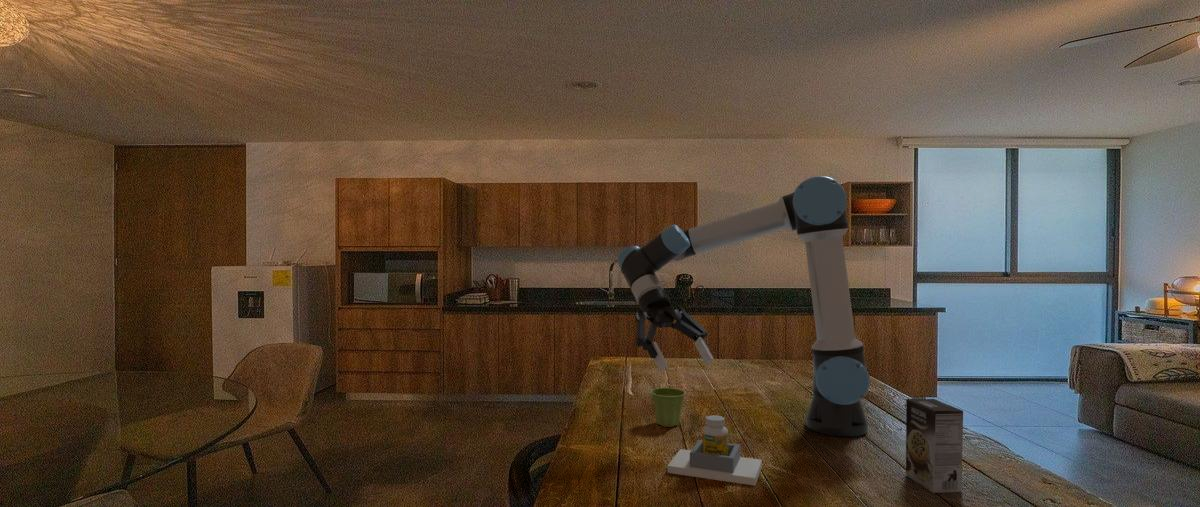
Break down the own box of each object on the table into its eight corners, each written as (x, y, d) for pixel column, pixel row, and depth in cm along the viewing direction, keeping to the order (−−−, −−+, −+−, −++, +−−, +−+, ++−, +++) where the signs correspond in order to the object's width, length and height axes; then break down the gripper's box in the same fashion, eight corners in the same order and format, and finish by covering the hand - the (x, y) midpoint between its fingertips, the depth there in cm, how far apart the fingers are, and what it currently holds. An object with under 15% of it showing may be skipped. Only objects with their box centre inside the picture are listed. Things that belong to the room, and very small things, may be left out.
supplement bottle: (729, 459, 128) (729, 415, 128) (727, 468, 123) (727, 422, 123) (704, 457, 130) (704, 413, 129) (700, 465, 124) (701, 420, 124)
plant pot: (684, 419, 163) (684, 388, 163) (686, 429, 154) (686, 396, 154) (650, 418, 164) (650, 387, 164) (650, 428, 155) (650, 395, 155)
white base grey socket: (761, 466, 128) (761, 445, 128) (755, 485, 118) (755, 463, 118) (680, 455, 135) (680, 435, 135) (667, 472, 124) (667, 451, 124)
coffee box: (904, 475, 123) (904, 398, 123) (933, 474, 124) (933, 397, 124) (932, 493, 114) (932, 410, 114) (963, 492, 115) (964, 409, 115)
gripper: (683, 303, 161) (720, 368, 148) (603, 308, 148) (636, 380, 136) (695, 285, 156) (735, 350, 143) (614, 289, 144) (649, 361, 131)
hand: (687, 365), depth 139 cm, fingers open, 13 cm apart
